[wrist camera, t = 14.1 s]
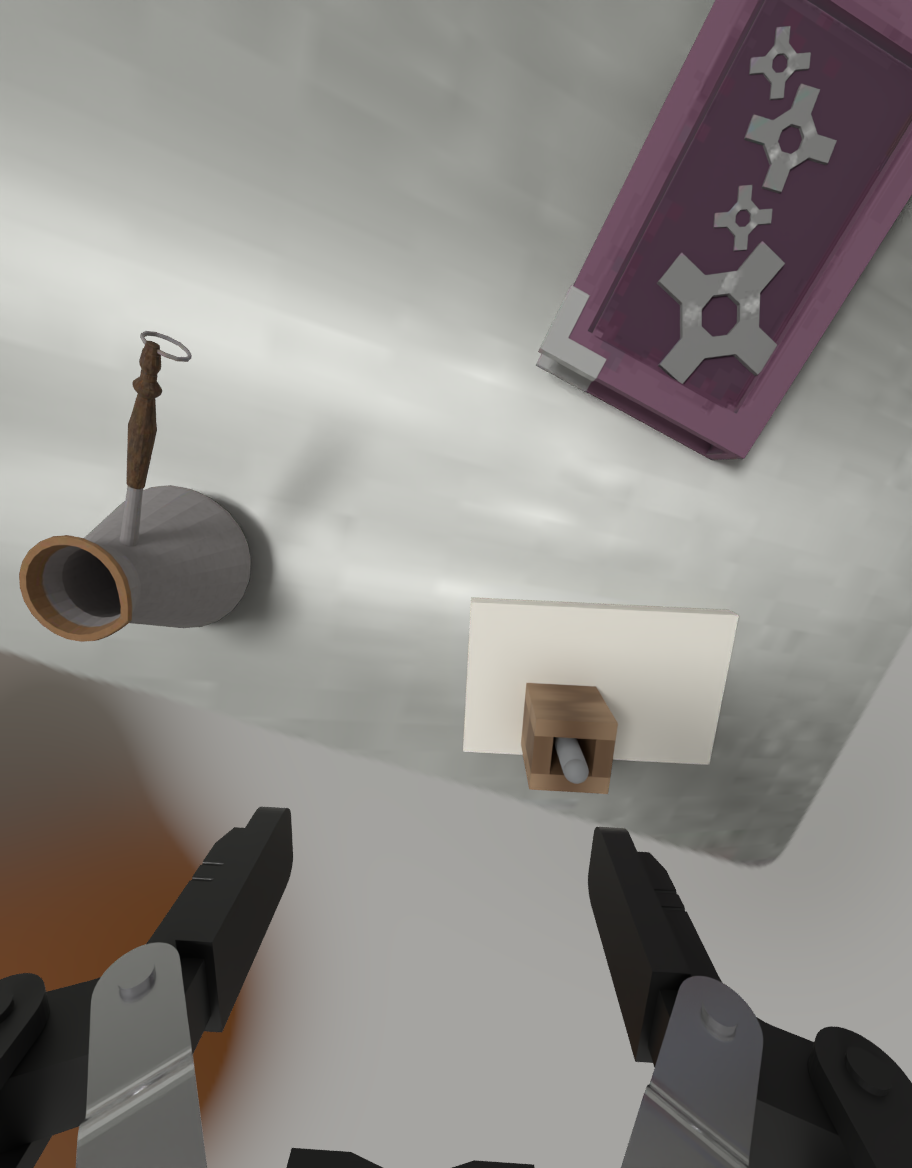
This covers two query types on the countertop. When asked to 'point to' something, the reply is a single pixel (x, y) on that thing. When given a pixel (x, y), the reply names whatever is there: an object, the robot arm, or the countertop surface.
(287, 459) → the countertop surface
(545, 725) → the brown wooden hollow cube
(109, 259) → the countertop surface
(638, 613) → the board
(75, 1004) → the robot arm
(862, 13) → the book
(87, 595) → the coffee pot
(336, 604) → the countertop surface
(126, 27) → the countertop surface
